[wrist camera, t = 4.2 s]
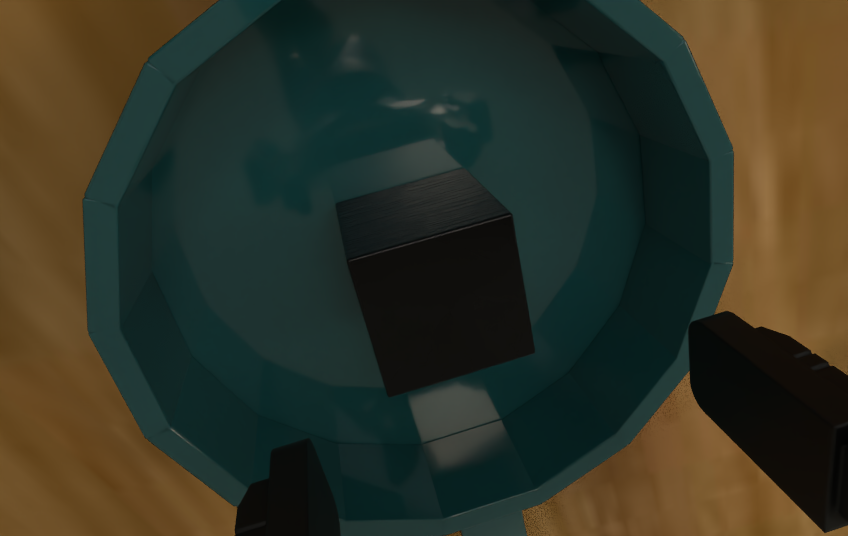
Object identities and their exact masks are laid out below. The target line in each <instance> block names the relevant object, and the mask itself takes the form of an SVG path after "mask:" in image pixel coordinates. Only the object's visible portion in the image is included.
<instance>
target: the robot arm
mask: <svg viewBox="0 0 848 536" xmlns="http://www.w3.org/2000/svg"><path fill="white" fill-rule="evenodd" d="M688 343H689V368H690V384H691V389H692V392H693V395H694V397H695V399H696V401H697V403H698V404H699V406H700V407H701V409H702V410H703V411H704V412H705V413H706V414H707V415H708V416H709V417H710V418H711V419H712V420H713V421H714V422H715V423H716V424H717V425H718V426H719V427H720V428H721V429H722V430H723V431H724V432H725V433H726V434H727V435H728V436H729V437H730V438H731V439H732V440H733V441H734V442H735V443H736V444H737V445H738V446H739V447H740V448H741V449H742V450H743V451H744V452H745V453H746V454H747V455H748V456H749V457H750V458H751V459H752V460H753V461H754V462H755V463H756V464H757V465H758V466H759V467H760V468H761V469H762V470H763V471H764V472H765V473H766V474H767V475H768V476H769V477H770V478H771V479H772V480H773V481H774V482H775V483H776V484H777V485H778V486H779V487H780V488H781V489H782V490H783V491H784V492H785V493H786V494H787V495H788V496H789V498H790V499H791V500H792V501H793V502H794V503H795V504H796V505H797V506H798V507H799V508H800V509H801V510H802V511H803V512H804V513H805V514H806V515H807V516H808V517H809V518H810V519H811V520H812V521H813V522H814V523H815V524H816V525H817V526H818V527H819V528H820V529H821V530H822V531H823V532H824V533H826V532H829V531H832V530H835V529H838V528H841V527H844V526H847V525H848V375H846V374H845V373H843V372H842V371H840V370H839V369H837V368H836V367H834V366H830V365H829V363H828V362H827V361H825V360H824V359H822V358H821V357H819V356H818V355H817V354H812V353H811V350H809V349H808V348H806V347H805V346H803V345H802V344H800V343H799V342H797V341H796V340H794V339H793V338H791V337H790V336H787V335H784V334H782V333H779V332H776V331H773V330H770V329H767V328H764V327H758V328H753V327H752V326H751V325H749V324H748V323H746V322H745V321H744V320H742V319H741V318H739V317H738V316H737V315H735V314H734V313H732V312H729V311H725V312H721V313H718V314H715V315H712V316H708V317H705V318H702V319H699V320H695V321H692V322H691V323H690V325H689V328H688ZM235 536H341V533H340V522H339V516H338V511H337V507H336V503H335V500H334V496H333V494H332V491H331V488H330V486H329V483H328V481H327V478H326V476H325V473H324V471H323V468H322V466H321V463H320V460H319V458H318V455H317V453H316V450H315V448H314V445H313V443H312V441H311V440H310V439H309V438H307V439H304V440H300V441H297V442H294V443H291V444H287V445H284V446H281V447H278V448H274V449H272V451H271V456H270V472H269V478H268V479H264V480H261V481H258V482H255V483H252V484H250V486H249V488H248V490H247V491H246V493H245V495H244V497H243V499H242V500H241V502H240V504H239V506H238V508H237V516H236V524H235Z"/></svg>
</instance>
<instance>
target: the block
mask: <svg viewBox="0 0 848 536" xmlns="http://www.w3.org/2000/svg"><path fill="white" fill-rule="evenodd" d="M335 207H336V212H337V217H338V222H339V227H340V232H341V237H342V242H343V247H344V252H345V257H346V262H347V265H348V269H349V272H350V275H351V278H352V282H353V285H354V288H355V291H356V295H357V298H358V301H359V305H360V308H361V311H362V314H363V318H364V321H365V324H366V327H367V331H368V334H369V337H370V340H371V344H372V347H373V350H374V353H375V357H376V360H377V363H378V366H379V370H380V373H381V376H382V380H383V383H384V386H385V389H386V393H387V396H388V397H394V396H397V395H401V394H404V393H407V392H410V391H414V390H417V389H420V388H423V387H427V386H430V385H433V384H437V383H440V382H443V381H446V380H450V379H453V378H456V377H459V376H463V375H466V374H469V373H473V372H476V371H479V370H482V369H486V368H489V367H492V366H496V365H499V364H502V363H505V362H509V361H512V360H515V359H518V358H522V357H525V356H528V355H532V354H534V353H535V346H534V340H533V334H532V328H531V322H530V316H529V310H528V304H527V298H526V292H525V286H524V280H523V274H522V268H521V262H520V257H519V251H518V245H517V239H516V233H515V227H514V221H513V215H512V213H511V212H510V211H509V210H508V209H507V208H505V207H504V206H503V205H502V204H501V203H500V202H499V201H498V200H497V199H496V198H495V197H494V196H493V195H492V194H491V193H490V192H489V191H488V190H487V189H486V188H485V187H484V186H483V185H482V184H481V183H480V182H479V181H477V180H476V179H475V178H474V177H473V176H472V175H471V174H470V173H469V172H468V171H467V170H466V169H465V168H461V169H458V170H454V171H451V172H447V173H443V174H440V175H436V176H432V177H429V178H425V179H422V180H418V181H414V182H411V183H407V184H403V185H400V186H396V187H392V188H389V189H385V190H382V191H378V192H374V193H371V194H367V195H363V196H360V197H356V198H353V199H349V200H345V201H342V202H338V203H336V204H335Z"/></svg>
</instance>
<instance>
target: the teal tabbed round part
mask: <svg viewBox="0 0 848 536" xmlns="http://www.w3.org/2000/svg"><path fill="white" fill-rule="evenodd" d="M732 149H733V147H732V144H731V142H730V140H729V137H728V135H727V133H726V131H725V128H724V126H723V124H722V122H721V119H720V117H719V115H718V112H717V110H716V108H715V106H714V103H713V101H712V99H711V97H710V94H709V92H708V90H707V87H706V85H705V83H704V81H703V78H702V76H701V74H700V72H699V69H698V67H697V65H696V62H695V60H694V58H693V56H692V53H691V51H690V49H689V47H688V44H687V42H686V41H685V40H684V38H683V36H682V35H681V34H679V33H678V32H677V31H676V30H675V29H673V28H672V27H671V26H670V25H669V24H667V23H666V22H665V21H664V20H663V19H661V18H660V17H659V16H658V15H657V14H655V13H654V12H653V11H652V10H651V9H649V8H648V7H647V6H646V5H645V4H643V3H642V2H641V1H640V0H218V1H217V2H216V3H215V4H213V5H212V6H211V7H210V8H208V9H207V10H206V11H205V12H204V13H202V14H201V15H200V16H199V17H197V18H196V19H195V20H194V21H192V22H191V23H190V24H189V25H188V26H186V27H185V28H184V29H183V30H181V31H180V32H179V33H178V34H176V35H175V36H174V37H173V38H172V39H170V40H169V41H168V42H167V43H165V44H164V45H163V46H162V47H161V48H159V49H158V50H157V51H156V52H154V53H153V54H152V55H151V56H149V57H148V61H146V62H145V63H144V65H143V67H142V69H141V72H140V74H139V76H138V78H137V80H136V83H135V85H134V87H133V89H132V91H131V93H130V96H129V98H128V100H127V102H126V104H125V106H124V109H123V111H122V113H121V115H120V117H119V120H118V122H117V124H116V126H115V128H114V130H113V133H112V135H111V137H110V139H109V141H108V144H107V146H106V148H105V150H104V152H103V154H102V157H101V159H100V161H99V163H98V165H97V168H96V170H95V172H94V174H93V176H92V178H91V181H90V183H89V185H88V187H87V189H86V192H85V197H84V198H83V225H84V251H85V276H86V301H87V327H88V332H89V336H90V338H91V340H92V341H93V343H94V345H95V347H96V349H97V351H98V352H99V354H100V356H101V358H102V360H103V362H104V363H105V365H106V367H107V369H108V371H109V373H110V374H111V376H112V378H113V380H114V382H115V384H116V385H117V387H118V389H119V391H120V393H121V395H122V397H123V398H124V400H125V402H126V404H127V406H128V408H129V409H130V411H131V413H132V415H133V417H134V419H135V420H136V422H137V424H138V426H139V428H140V430H141V431H142V433H143V435H144V437H145V438H146V439H148V441H149V442H151V443H152V444H153V445H155V446H156V447H157V448H159V449H160V450H161V451H162V452H164V453H165V454H166V455H168V456H169V457H170V458H172V459H173V460H174V461H175V462H177V463H178V464H179V465H181V466H182V467H183V468H185V469H186V470H187V471H188V472H190V473H191V474H192V475H194V476H195V477H196V478H198V479H199V480H200V481H202V482H203V483H204V484H205V485H207V486H208V487H209V488H211V489H212V490H213V491H215V492H216V493H217V494H218V495H220V496H221V497H222V498H224V499H225V500H226V501H228V502H229V503H230V504H231V505H233V506H237V508H238V506H239V504H240V502H241V500H242V499H243V497H244V495H245V493H246V491H247V490H248V488H249V486H250V484H252V483H255V482H258V481H261V480H264V479H268V478H269V472H270V456H271V451H272V449H274V448H278V447H281V446H284V445H287V444H291V443H294V442H297V441H300V440H304V439H307V438H309V439H310V440H311V441H312V443H313V445H314V448H315V450H316V453H317V455H318V458H319V460H320V463H321V466H322V468H323V471H324V473H325V476H326V478H327V481H328V483H329V486H330V488H331V491H332V494H333V496H334V500H335V503H336V507H337V511H338V516H339V522H340V533H341V536H443V535H444V536H446V535H449V534H452V533H455V532H458V531H460V533H461V536H527V533H526V528H525V523H524V518H523V514H522V510H525V509H528V508H531V507H534V506H537V505H540V504H542V502H545V501H547V500H548V499H550V498H551V497H552V496H554V495H555V494H557V493H558V492H560V491H561V490H563V489H564V488H566V487H567V486H569V485H570V484H572V483H573V482H575V481H576V480H577V479H579V478H580V477H582V476H583V475H585V474H586V473H588V472H589V471H591V470H592V469H594V468H595V467H597V466H598V465H600V464H601V463H602V462H604V461H605V460H607V459H608V458H610V457H611V456H613V455H614V454H616V453H617V452H619V451H620V450H622V449H623V448H624V447H626V446H627V444H630V443H631V442H632V440H633V439H634V438H635V437H636V435H637V434H638V433H639V432H640V430H641V429H642V428H643V427H644V426H645V424H646V423H647V422H648V421H649V419H650V418H651V417H652V416H653V415H654V413H655V412H656V411H657V410H658V408H659V407H660V406H661V405H662V403H663V402H664V401H665V400H666V399H667V397H668V396H669V395H670V394H671V392H672V391H673V390H674V389H675V388H676V386H677V385H678V384H679V383H680V381H681V380H682V379H683V378H684V376H685V375H686V374H687V373H688V372H689V370H690V368H689V343H688V328H689V325H690V323H691V322H692V321H695V320H699V319H702V318H705V317H708V316H712V315H714V313H715V311H716V308H717V305H718V303H719V300H720V298H721V295H722V292H723V290H724V287H725V285H726V282H727V279H728V277H729V274H730V272H731V269H732V266H733V221H734V152H733V150H732ZM461 168H465V169H466V170H467V171H468V172H469V173H470V174H471V175H472V176H473V177H474V178H475V179H476V180H477V181H479V182H480V183H481V184H482V185H483V186H484V187H485V188H486V189H487V190H488V191H489V192H490V193H491V194H492V195H493V196H494V197H495V198H496V199H497V200H498V201H499V202H500V203H501V204H502V205H503V206H504V207H505V208H507V209H508V210H509V211H510V212H511V213H512V215H513V221H514V227H515V233H516V239H517V245H518V251H519V257H520V262H521V268H522V274H523V280H524V286H525V292H526V298H527V304H528V310H529V316H530V322H531V328H532V334H533V340H534V346H535V353H534V354H532V355H528V356H525V357H522V358H518V359H515V360H512V361H509V362H505V363H502V364H499V365H496V366H492V367H489V368H486V369H482V370H479V371H476V372H473V373H469V374H466V375H463V376H459V377H456V378H453V379H450V380H446V381H443V382H440V383H437V384H433V385H430V386H427V387H423V388H420V389H417V390H414V391H410V392H407V393H404V394H401V395H397V396H394V397H388V396H387V393H386V389H385V386H384V383H383V380H382V376H381V373H380V370H379V366H378V363H377V360H376V357H375V353H374V350H373V347H372V344H371V340H370V337H369V334H368V331H367V327H366V324H365V321H364V318H363V314H362V311H361V308H360V305H359V301H358V298H357V295H356V291H355V288H354V285H353V282H352V278H351V275H350V272H349V269H348V265H347V262H346V257H345V252H344V247H343V242H342V237H341V232H340V227H339V222H338V217H337V212H336V207H335V204H336V203H338V202H342V201H345V200H349V199H353V198H356V197H360V196H363V195H367V194H371V193H374V192H378V191H382V190H385V189H389V188H392V187H396V186H400V185H403V184H407V183H411V182H414V181H418V180H422V179H425V178H429V177H432V176H436V175H440V174H443V173H447V172H451V171H454V170H458V169H461Z"/></svg>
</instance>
